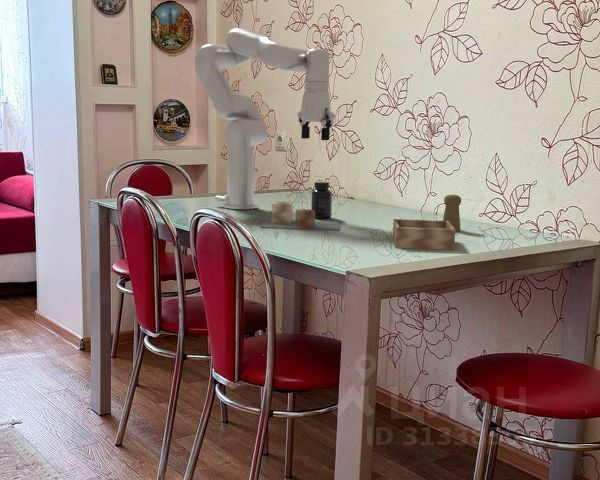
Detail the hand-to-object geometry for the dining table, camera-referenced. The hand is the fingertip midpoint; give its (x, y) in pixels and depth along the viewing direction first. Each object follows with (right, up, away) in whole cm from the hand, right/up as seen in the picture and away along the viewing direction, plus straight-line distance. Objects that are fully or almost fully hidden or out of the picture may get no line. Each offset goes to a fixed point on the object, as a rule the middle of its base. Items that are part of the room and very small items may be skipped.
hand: (315, 139), depth 260 cm
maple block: (-11, -28, -12) cm, 32 cm away
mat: (-5, -29, -17) cm, 34 cm away
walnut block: (-4, -30, -22) cm, 37 cm away
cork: (+42, -31, -19) cm, 55 cm away
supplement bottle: (+2, -27, 0) cm, 27 cm away
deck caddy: (+29, -35, -44) cm, 63 cm away
